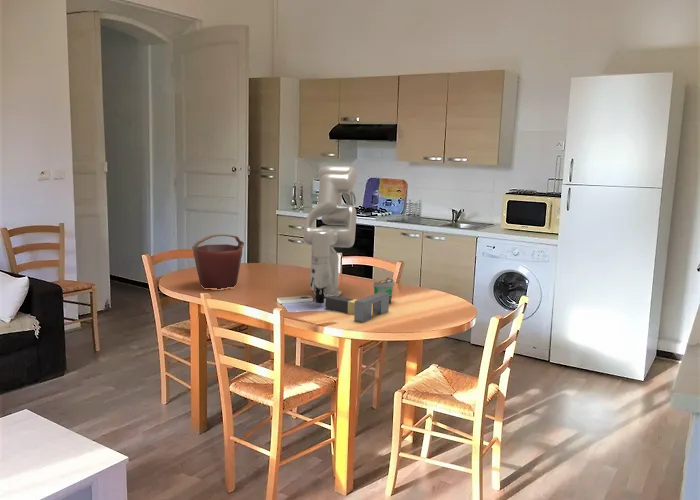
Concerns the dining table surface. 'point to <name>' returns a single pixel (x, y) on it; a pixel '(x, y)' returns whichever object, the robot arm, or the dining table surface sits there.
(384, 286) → the food container
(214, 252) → the bucket
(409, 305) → the dining table surface
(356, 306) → the housing
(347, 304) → the rod
